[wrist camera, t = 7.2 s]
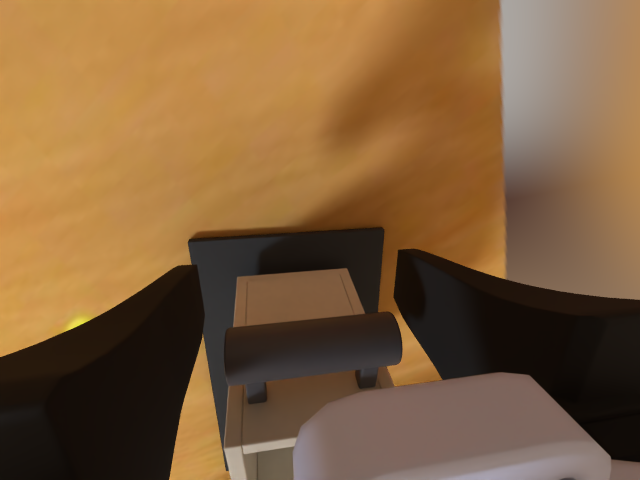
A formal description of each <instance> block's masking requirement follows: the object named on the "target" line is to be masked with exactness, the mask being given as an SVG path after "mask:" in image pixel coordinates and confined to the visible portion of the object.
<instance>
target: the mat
mask: <svg viewBox="0 0 640 480" xmlns="http://www.w3.org/2000/svg"><path fill="white" fill-rule="evenodd" d="M383 241H384V229H383V228H382V227H381V228H365V229H348V230H332V231H315V232H299V233H282V234H266V235H249V236H233V237H216V238H200V239H189V241H188V246H189V252H190V258H191V264H192V265H195V264H197V267H198V273H199V279H200V286H201V292H202V298H203V304H204V311H205V320H204V328H203V335H204V341H205V347H206V353H207V359H208V365H209V371H210V377H211V383H212V389H213V395H214V401H215V407H216V413H217V419H218V425H219V431H220V437H221V443H222V449H223V455H224V461H225V467H226V471H229V468H228V464H227V460H226V455H225V451H224V438H225V426H226V413H227V400H228V388H229V386H228V384H227V381H226V377H225V368H224V340H225V333H226V330H227V329H228V328H231V327H233V324H234V312H235V299H236V286H237V277H242V276H254V275H267V274H280V273H292V272H305V271H317V270H330V269H343V268H347V270H348V272H349V275H350V277H351V280H352V282H353V285H354V287H355V290H356V292H357V295H358V297H359V300H360V302H361V305H362V307H363V310H364V312H365V314H367V313H377V312H378V303H379V291H380V278H381V266H382V253H383Z"/></svg>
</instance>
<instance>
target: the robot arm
mask: <svg viewBox="0 0 640 480" xmlns="http://www.w3.org/2000/svg"><path fill="white" fill-rule="evenodd" d="M394 299H395V302H396V304H397V306H398V309H399V311H400V313H401V315H402V317H403V319H404V320H405V322H406V324H407V325H408V327H409V328H410V330H411V331H412V333H413V334H414V336H415V337H416V339H417V340H418V342H419V343H420V345H421V346H422V348H423V349H424V351H425V352H426V354H427V355H428V357H429V358H430V360H431V361H432V363H433V364H434V366H435V368H436V369H437V371H438V373H439V374H440V376H441V378H442V380H440V381H432V382H425V383H418V384H411V385H404V386H397V387H390V388H383V389H375V390H368V391H361V392H357V393H354V394H351V395H348V396H345V397H342V398H340V399H337V400H334V401H331V402H328V403H327V404H326V405H325V406H324V407H323V408H321V409H320V410H319V411H318V412H317V413H316V414H315V415H313V416H312V417H311V418H310V419H309V420H308V421H307V422H306V423H304V424H303V425H302V426H301V428H300V431H299V434H298V437H297V440H296V443H295V446H294V449H293V452H292V453H293V474H294V478H293V480H640V300H633V299H619V298H607V297H597V296H589V295H581V294H574V293H567V292H560V291H555V290H550V289H544V288H539V287H534V286H529V285H525V284H521V283H517V282H513V281H509V280H506V279H502V278H498V277H495V276H492V275H489V274H485V273H482V272H479V271H476V270H473V269H471V268H468V267H465V266H462V265H460V264H457V263H454V262H452V261H449V260H447V259H444V258H441V257H439V256H436V255H433V254H431V253H428V252H425V251H421V250H418V249H403V250H398V257H397V267H396V277H395V287H394ZM204 320H205V311H204V304H203V298H202V292H201V286H200V279H199V273H198V267H197V264H195V265H181V266H177V267H175V268H173V269H171V270H170V271H168V272H167V273H165V274H164V275H163V276H161V277H160V278H158V279H157V280H155V281H154V282H153V283H151V284H150V285H148V286H147V287H145V288H144V289H142V290H141V291H139V292H138V293H136V294H135V295H133V296H131V297H130V298H128V299H127V300H125V301H123V302H122V303H120V304H119V305H117V306H115V307H114V308H112V309H110V310H109V311H107V312H105V313H103V314H101V315H99V316H97V317H95V318H94V319H92V320H90V321H88V322H86V323H84V324H82V325H80V326H77V327H75V328H73V329H71V330H68V331H66V332H64V333H61V334H59V335H57V336H54V337H52V338H50V339H48V340H45V341H43V342H41V343H38V344H35V345H33V346H30V347H27V348H25V349H22V350H19V351H17V352H14V353H11V354H8V355H5V356H3V357H0V480H169V477H170V471H171V465H172V459H173V453H174V447H175V441H176V436H177V430H178V425H179V419H180V414H181V410H182V406H183V402H184V398H185V394H186V391H187V388H188V384H189V381H190V378H191V374H192V371H193V368H194V364H195V361H196V358H197V354H198V351H199V347H200V344H201V340H202V334H203V328H204Z"/></svg>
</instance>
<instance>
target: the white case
mask: <svg viewBox="0 0 640 480" xmlns="http://www.w3.org/2000/svg"><path fill="white" fill-rule="evenodd" d="M401 358H402V338H401V333H400V329H399V326H398V323H397V321H396V319H395V317H394V315H393V314H392V313H391V312H377V313H367V314H365V312H364V310H363V307H362V305H361V302H360V300H359V297H358V295H357V292H356V290H355V287H354V285H353V282H352V280H351V277H350V275H349V272H348V270H347V268H343V269H330V270H317V271H305V272H292V273H280V274H267V275H254V276H242V277H237V286H236V299H235V312H234V324H233V327H231V328H228V329H227V330H226V333H225V340H224V368H225V377H226V381H227V384H228V386H229V388H228V400H227V413H226V426H225V438H224V451H225V455H226V460H227V464H228V468H229V472H230V476H231V480H293V478H294V474H293V453H292V452H293V449H294V446H295V443H296V440H297V437H298V434H299V431H300V428H301V426H302V425H303V424H304V423H306V422H307V421H308V420H309V419H310V418H311V417H312V416H313V415H315V414H316V413H317V412H318V411H319V410H320V409H321V408H323V407H324V406H325V405H326V404H327V403H328V402H331V401H334V400H337V399H340V398H342V397H345V396H348V395H351V394H354V393H357V392H361V391H368V390H375V389H383V388H390V387H394V384H393V382H392V379H391V377H390V374H389V372H388V369H387V367H386V366H391V365H397V364H399V363H400V361H401Z"/></svg>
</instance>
